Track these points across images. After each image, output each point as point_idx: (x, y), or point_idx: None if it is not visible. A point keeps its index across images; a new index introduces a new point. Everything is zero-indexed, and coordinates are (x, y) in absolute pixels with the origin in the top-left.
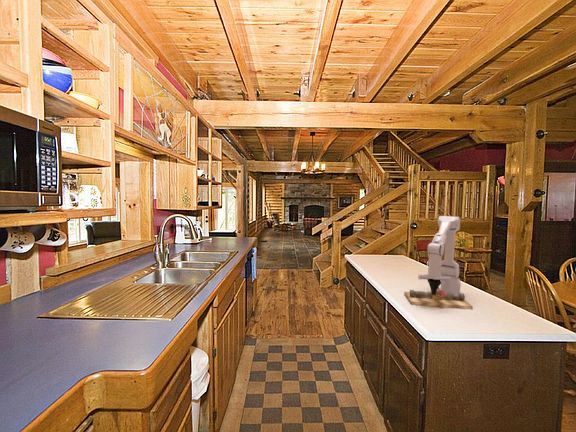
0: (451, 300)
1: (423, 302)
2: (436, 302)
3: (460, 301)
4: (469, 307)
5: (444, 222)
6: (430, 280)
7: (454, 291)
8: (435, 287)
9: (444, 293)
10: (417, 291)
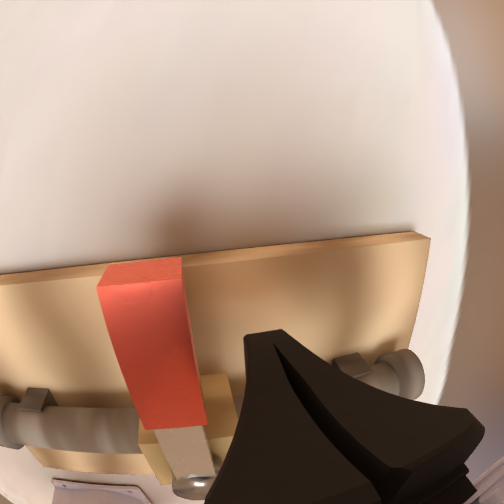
0: (69, 388)
1: (345, 249)
2: (209, 297)
3: (12, 377)
4: None
5: None
6: (447, 486)
7: (77, 500)
8: (297, 403)
9: (116, 293)
10: None
